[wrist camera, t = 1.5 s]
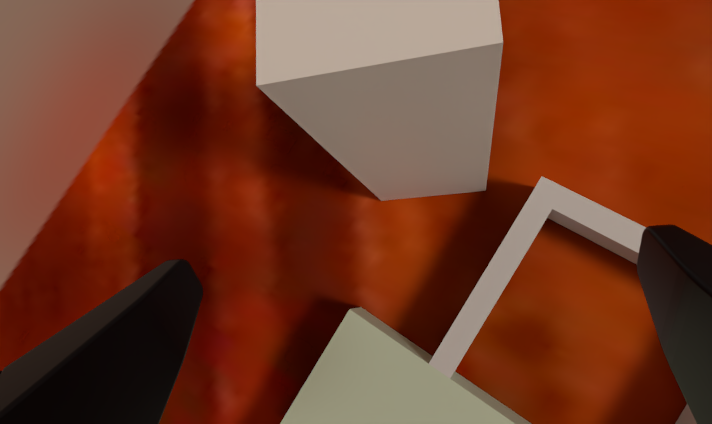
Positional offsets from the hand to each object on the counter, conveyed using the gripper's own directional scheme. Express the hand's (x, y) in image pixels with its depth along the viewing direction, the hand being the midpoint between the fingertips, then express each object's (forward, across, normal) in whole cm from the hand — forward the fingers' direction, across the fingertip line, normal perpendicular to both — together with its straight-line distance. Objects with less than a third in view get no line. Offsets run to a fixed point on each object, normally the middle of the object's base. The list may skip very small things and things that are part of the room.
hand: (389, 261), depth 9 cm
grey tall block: (+13, 0, +5) cm, 14 cm away
